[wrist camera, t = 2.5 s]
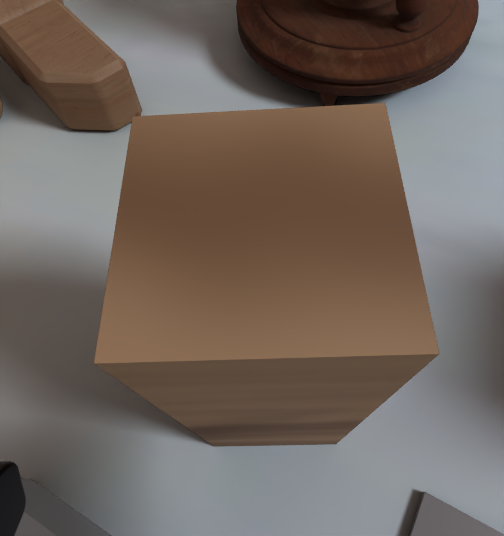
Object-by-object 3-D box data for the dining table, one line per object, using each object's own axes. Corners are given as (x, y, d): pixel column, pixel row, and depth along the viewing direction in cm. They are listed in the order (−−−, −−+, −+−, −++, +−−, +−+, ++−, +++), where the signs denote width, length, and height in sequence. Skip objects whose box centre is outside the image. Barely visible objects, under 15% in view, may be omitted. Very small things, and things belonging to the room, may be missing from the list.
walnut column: (336, 444, 18) (439, 353, 6) (213, 446, 18) (93, 363, 6) (324, 327, 20) (385, 102, 8) (217, 330, 20) (132, 116, 9)
